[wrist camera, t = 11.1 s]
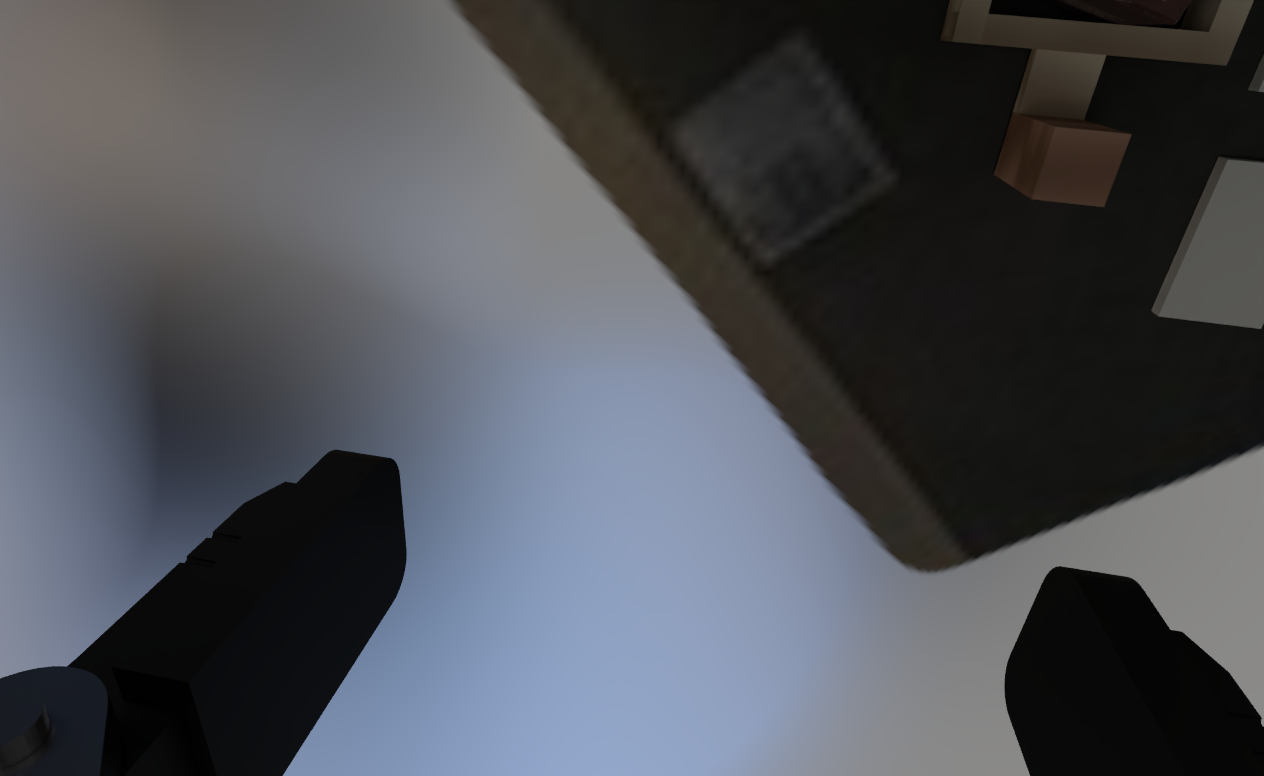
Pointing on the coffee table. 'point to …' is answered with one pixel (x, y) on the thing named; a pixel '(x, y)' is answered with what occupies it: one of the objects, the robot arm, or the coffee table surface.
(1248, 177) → the pair of grey tiles
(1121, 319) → the coffee table surface
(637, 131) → the coffee table surface
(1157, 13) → the box
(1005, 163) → the wooden open tray
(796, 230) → the coffee table surface
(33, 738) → the robot arm
